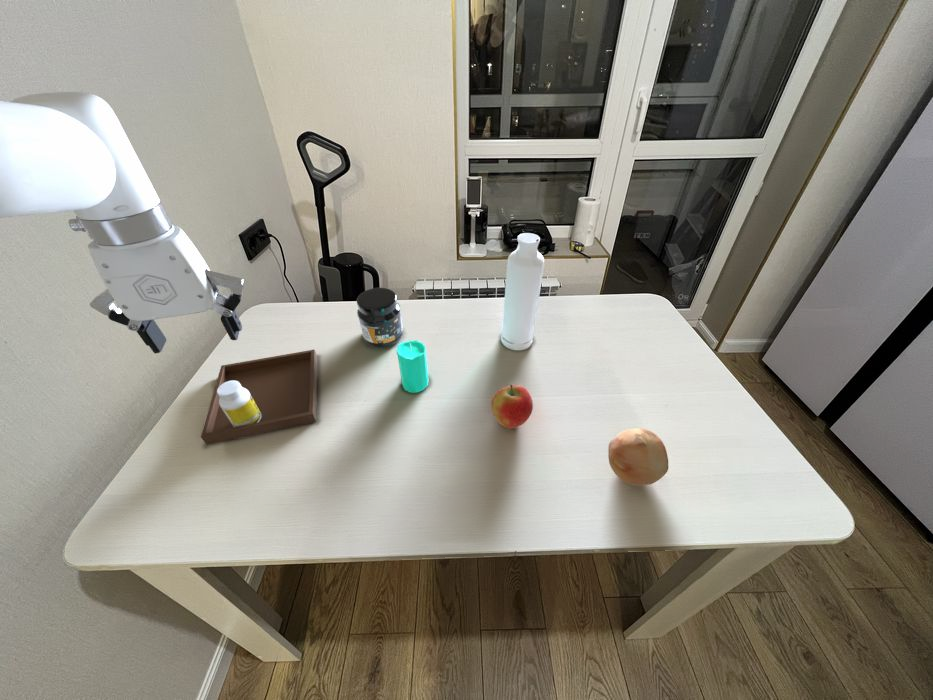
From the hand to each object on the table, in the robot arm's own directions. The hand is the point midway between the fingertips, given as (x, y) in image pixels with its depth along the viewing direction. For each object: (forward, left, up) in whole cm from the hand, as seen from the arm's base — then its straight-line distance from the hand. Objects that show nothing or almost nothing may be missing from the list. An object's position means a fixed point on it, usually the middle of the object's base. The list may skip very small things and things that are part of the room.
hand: (199, 340), depth 54 cm
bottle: (+59, +18, -28) cm, 68 cm away
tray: (-1, +15, -28) cm, 32 cm away
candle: (+31, +10, -28) cm, 43 cm away
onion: (+65, -23, -28) cm, 74 cm away
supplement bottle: (-4, +9, -28) cm, 29 cm away
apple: (+48, -6, -28) cm, 56 cm away
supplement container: (+26, +29, -28) cm, 48 cm away
